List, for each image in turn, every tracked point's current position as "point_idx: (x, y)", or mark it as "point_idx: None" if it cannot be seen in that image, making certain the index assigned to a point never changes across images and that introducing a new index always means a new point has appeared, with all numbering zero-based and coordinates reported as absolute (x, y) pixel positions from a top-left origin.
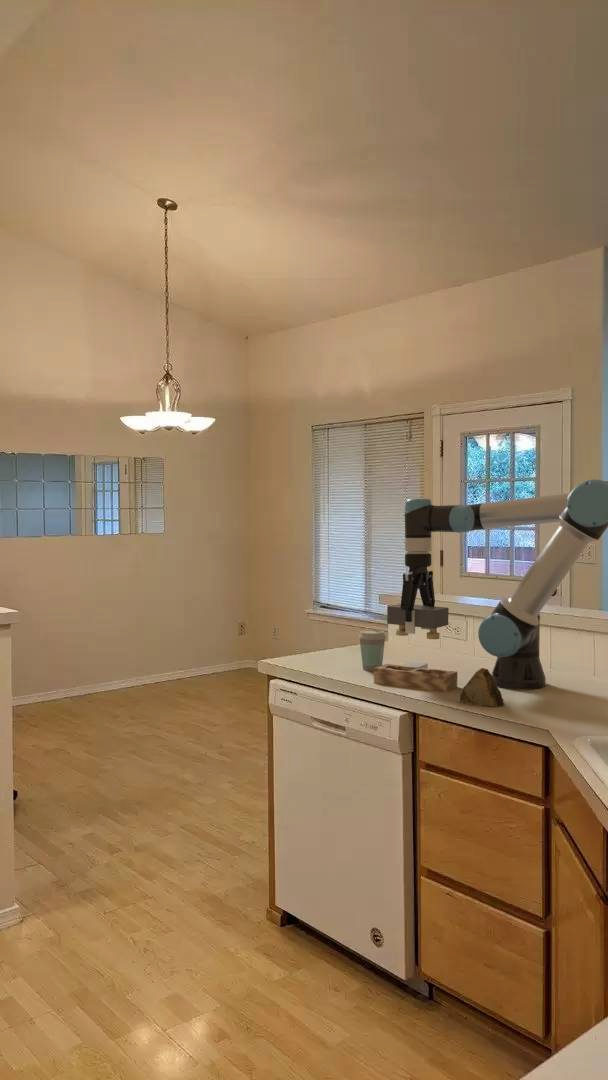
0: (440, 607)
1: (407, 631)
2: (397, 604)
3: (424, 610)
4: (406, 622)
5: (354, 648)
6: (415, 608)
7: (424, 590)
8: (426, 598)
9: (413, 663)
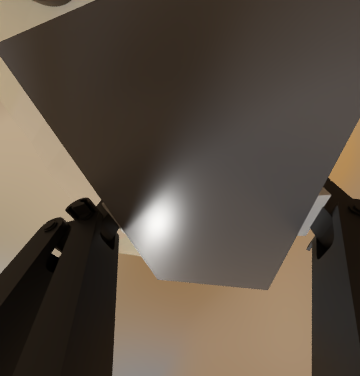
0: (77, 119)
1: None
2: (191, 282)
3: (356, 111)
4: None
5: (119, 250)
6: (277, 212)
7: (82, 355)
8: (98, 261)
9: None
